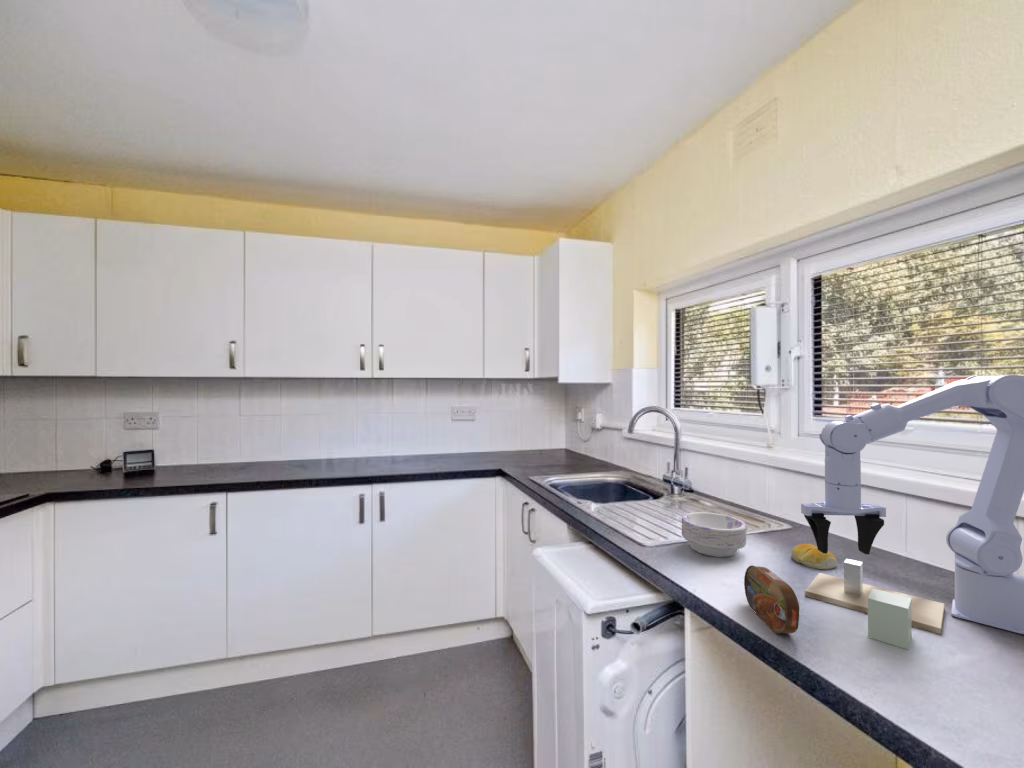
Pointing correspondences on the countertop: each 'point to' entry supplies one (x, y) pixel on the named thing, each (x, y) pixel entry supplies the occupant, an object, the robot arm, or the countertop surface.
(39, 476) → the countertop surface
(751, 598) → the tin
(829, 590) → the board
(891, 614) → the pale green block
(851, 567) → the grey and beige block
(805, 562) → the bread roll
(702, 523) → the paper bowls
